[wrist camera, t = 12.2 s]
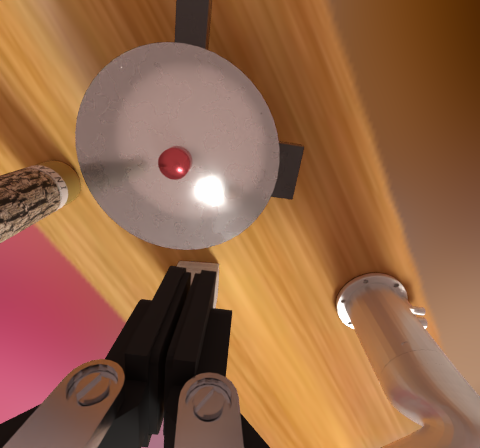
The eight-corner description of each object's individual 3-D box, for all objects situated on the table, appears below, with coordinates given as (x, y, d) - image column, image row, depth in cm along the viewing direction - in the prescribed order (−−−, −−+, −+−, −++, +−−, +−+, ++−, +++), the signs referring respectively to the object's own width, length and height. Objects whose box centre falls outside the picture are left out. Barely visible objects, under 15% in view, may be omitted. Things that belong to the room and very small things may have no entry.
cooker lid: (297, 63, 27) (304, 58, 24) (260, 254, 35) (261, 269, 32) (74, 28, 26) (50, 18, 23) (90, 231, 35) (74, 244, 31)
